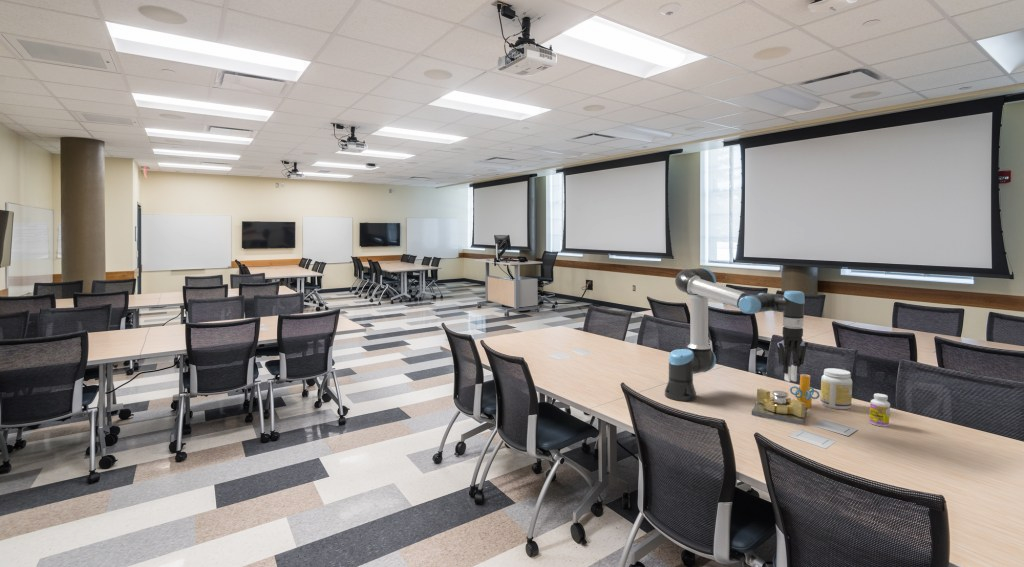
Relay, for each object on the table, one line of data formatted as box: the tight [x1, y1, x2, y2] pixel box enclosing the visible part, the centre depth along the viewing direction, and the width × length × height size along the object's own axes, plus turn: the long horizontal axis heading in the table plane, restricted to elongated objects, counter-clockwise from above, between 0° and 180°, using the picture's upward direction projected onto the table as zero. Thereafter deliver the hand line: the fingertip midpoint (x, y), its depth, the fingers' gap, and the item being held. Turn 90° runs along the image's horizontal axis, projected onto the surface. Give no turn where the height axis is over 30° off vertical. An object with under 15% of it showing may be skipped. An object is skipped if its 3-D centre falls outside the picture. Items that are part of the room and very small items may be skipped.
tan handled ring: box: [756, 388, 806, 418], centre depth 212 cm, size 22×12×6 cm, turn 23°
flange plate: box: [750, 390, 808, 426], centre depth 212 cm, size 20×18×10 cm
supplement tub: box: [820, 367, 853, 410], centre depth 221 cm, size 12×12×17 cm
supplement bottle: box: [868, 392, 891, 428], centre depth 199 cm, size 7×7×13 cm
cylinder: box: [789, 373, 821, 409], centre depth 221 cm, size 12×10×15 cm
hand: (790, 380), depth 201 cm, fingers open, 2 cm apart
